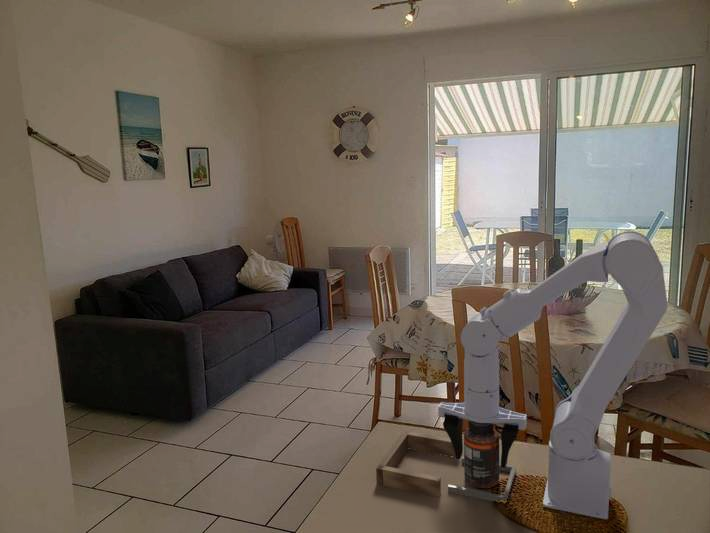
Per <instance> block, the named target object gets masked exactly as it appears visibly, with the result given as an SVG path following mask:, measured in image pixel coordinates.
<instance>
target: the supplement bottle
mask: <svg viewBox="0 0 710 533" xmlns="http://www.w3.org/2000/svg"><path fill="white" fill-rule="evenodd" d="M468 421H469V424H468V426H469V427H467V428H466V430H465V431H464V433H463V457H464V463H463V465H464V466H463V467H464V470H463V472H464V474H463V475H464V479H465V481H466V482H467V484H469V485H470V486H472V487H474V488H478V489H490V488H493V487H494V486H495V487H496V485H498V484H499V481H500V470H499V463H500V435H499V433H498V431H497V430H496V429H495V428H494V424H492V423H478V422H473V421H470V420H468Z"/></svg>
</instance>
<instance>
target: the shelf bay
mask: <svg viewBox="0 0 710 533" xmlns="http://www.w3.org/2000/svg"><path fill="white" fill-rule="evenodd" d="M408 448H409V449H408ZM412 449H413V450H412ZM414 449H415V450H414ZM406 450H407V451H408V450H412V451H418V450H420V451H419V452H423V451H425V452H424V453H428V452H430V453H429V454H434V453H436V454H435V455H439V454H442V455H441V456H444V455H447V456H446V457H450V456H453V457H452V458H455V457H456V456H455V452H454V448H453V445H452V442H451V440H450V438H448V437H444V436H443V437H442V436H439V435H431V434H426V433H421V432H414V431H409V430H408V431H407V430H403V431H402V432H401V434H400V435H399V437H397V439H396V440H395V442H394V443H393V445H392V446H391V447H390V449H388V452H387V453H386V454H385V456H383V458H382V459H381V460H380V462H379V463H378V465H377V466H376V468H375V471H376V472H375V473H376V485H380V486H383V487H389V488H393V489H397V490H402V491H407V492H412V493H416V494H421V495H425V496H428V497H429V496H430V497H435V498H440V496H441V494H442V491H441V490H442V488H441V487H442V484H441V483H442V482H441V478H442V477H441V476H436V475H432V474H426V473H421V472H416V471H411V470H407V469H402V468H396V467H397V466H398V464H399V462H400V461H401V460H402V458H403V457H404V455H405V453H407V451H406Z"/></svg>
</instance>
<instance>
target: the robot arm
mask: <svg viewBox="0 0 710 533" xmlns="http://www.w3.org/2000/svg"><path fill="white" fill-rule="evenodd" d="M609 275H610V276H611V277H612V279H613V280H614V281H615V283H617V284H618V285H619V286H620V287H621V288H622V292H623V293H624V296H625V298H626V301H627V303H626V305H625V307H624V308H623V311H622V312H621V314H620V315H619V317H618V319H617V320H616V322H615V324H614V325H613V327H612V329H611V330H610V333H609V334H608V336H607V337H606V339H605V341H604V342H603V344H602V346H601V348H599V351H598V353H597V354H596V356H595V358H594V359H593V360H592V363H591V364H590V366H589V368H588V369H587V371H586V373H585V374H584V376H583V378H582V380H581V381H580V383H579V384H578V386H576V387H575V388H574V389H573V390H572V392H571V394H570V395H569V396H568V397H566V398H565V399H563V400H561V401H560V402H558V404H557V405H556V407H555V410H554V419H553V423H552V428H551V429H550V434H549V441H548V463H547V464H548V466H547V467H548V469H547V479H546V483H545V489H544V495H543V499H542V506H543V507H545V508H549V509H553V510H557V511H558V510H559V511H563V512H567V513H573V514H578V515H582V516H586V517H592V518H597V519H601V520H608V519H609V505H610V504H609V502H610V500H612V487H610V486H611V485H610V483H611V462H612V460H611V458H612V457H611V456H612V453H610V452H606V451H603V450H601V449H599V448H598V445H597V444H596V443H595V436H596V433H597V431H598V429H599V428H600V425H601V423H602V420H603V417H604V415H605V414H604V413H605V411H606V409H607V407H608V405H609V403H610V402H611V400H612V399H613V397H614V396H615V394H616V393H617V391H618V389H619V388H620V386H621V384H622V383H623V382H624V379H625V378H626V376H627V375H628V373H629V372H630V370H631V368H632V367H633V365H634V363H635V362H636V360H637V359H638V357H639V356H640V353H641V352H642V351H643V349H644V347H646V345H647V342H648V341H649V340H650V338H651V336H652V334H654V331H655V330H656V328H657V327H658V326H659V323H660V322H661V320H662V318H663V317H664V315H665V314H666V313H667V309H668V304H669V303H668V297H667V289H666V283H665V274H664V267H663V265H662V262H661V261H660V258H659V256H658V254H657V252H656V250H655V248H654V247H653V245H652V242H651V241H650V240H649V239H648V237H646V235H644V234H643V233H640V232H638V231H634V230H627V231H626V230H624V231H622V232H619V233H617V234H615V235H613V236H612V238H610V240H609V241H608V243H607V240H605V241H603V242H601V243H597V244H596V245H595V246H593V247H591V248H590V249H588V250H586V251H584V252H583V253H581V254H580V255H578V256H577V257H576V258H573V259H572V260H571V261H570V262H568V263H567V264H566V265H564V266H563V267H561V268H560V269H558V270H557V271H555V272H554V273H553V274H551V275H549V277H547V278H545V279H544V280H543V281H541V282H540V283H539V284H537V285H535V286H534V287H533V288H531V289H525V288H520V287H519V288H516V289H515V290H512V289H511V288H509V289H508V290H507V291H505V292H504V293H503V294H502V297H503V298H502V299H500V300H498V301H497V302H495V303H494V304H492V305H491V306H489V307H488V308H487V307H486V306H484V307H483V308H481V309H480V310H479V313H476V314H475V315H474V316H473V317H471V318H470V319H469V321H468V322H467V323H466V324H465V325H464V327H463V329H462V331H461V333H460V343H461V346H462V348H464V359H463V383H464V384H463V390H464V391H463V392H464V393H463V397H464V398H463V399H464V400H463V402H443V401H441V402H440V403H439V405H438V406H437V410H438V411H437V417H439V418H442V419H443V418H444V419H443V422H442V426H443V429H444V430H445V432H446V434H447V436H448V437H449V438H450V440H451V442H452V445H453V448H454V452H455V456H456V458H455V459H456V460H460V459H462V457H463V456H462V455H463V454H464V441H463V425H464V420H468V421H469V420H470V421H473V422H478V423H492V424H493V425H499V426H500V425H501V426H503V427H502V429H501V432H500V440H501V454H500V456H501V457H500V464H501V467H503V468H505V467H506V465H508V460H509V459H508V458H509V453H510V450H511V448H512V446H513V443H514V442H515V441H516V438H517V437H518V434H519V431H520V430H521V431H526V429H527V423H528V422H527V420H528V415H527V414H526V413H521V412H520V413H519V412H517V411H512V410H509V409H506V408H503V407H500V359H499V344H498V343H499V342H500V341H504V340H508V339H510V338H511V337H513V336H515V335H516V334H518V333H520V331H523V330H524V329H526V328H528V327H529V326H530V325H532V324H534V323H535V322H536V321H539V320H540V319H541V316H542V311H543V307H545V306H547V305H548V304H549V305H550V304H551V303H552V302H554V301H555V300H558V299H559V298H561V297H562V296H564V295H567V293H569V292H571V291H573V290H574V289H576V288H577V287H580V286H582V285H583V284H585V283H587V282H594V283H595V282H596V283H609Z"/></svg>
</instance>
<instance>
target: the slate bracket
mask: <svg viewBox="0 0 710 533" xmlns="http://www.w3.org/2000/svg"><path fill="white" fill-rule="evenodd" d="M461 464H464V456H461ZM499 471H500V472H501V471H502V472H505V473H506V472H507V473H509V476H508V480H507V483H506V486H505V489H504V492H503V495H501V494H497V493H492V492H486V491H481V490H477V489H474V488H473V489H472V488H468V487H462V486H458V485H453V484H448V486H447V493H452V494H457V495H461V496H465V497H471V498H476V499H480V500H484V501H489V502H493V500H497V499H498V500H499V499H500V500H507V497H508V494H509V491H510V492H511V490H510V488H511V489H512V487H511V485H512V486H513V483H514V480H513V479H515V476H516V472H517V466H516V465H511V464H510V465H509V464H506V467H505V468H503V467H501V462H499ZM512 482H513V483H512ZM509 495H510V494H509ZM508 498H509V497H508Z"/></svg>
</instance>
